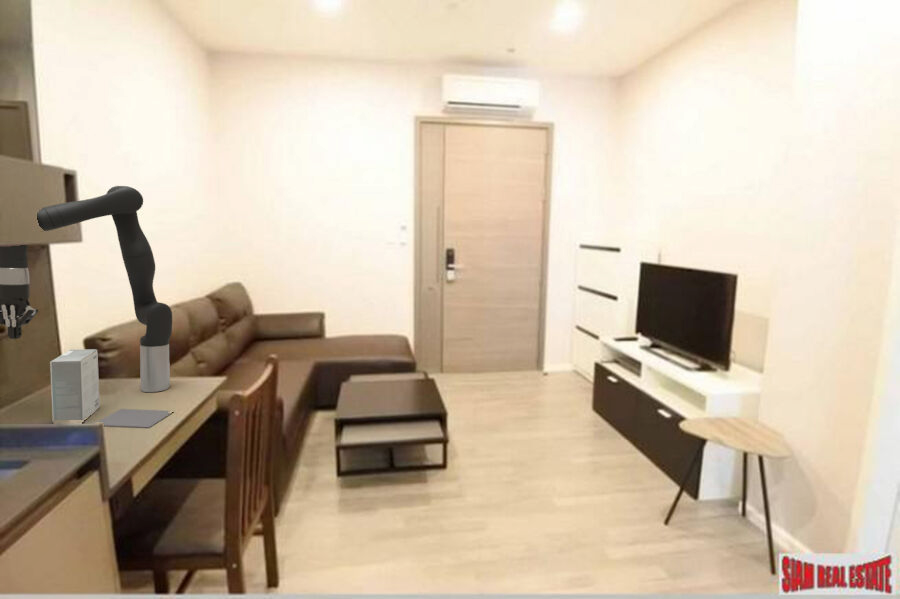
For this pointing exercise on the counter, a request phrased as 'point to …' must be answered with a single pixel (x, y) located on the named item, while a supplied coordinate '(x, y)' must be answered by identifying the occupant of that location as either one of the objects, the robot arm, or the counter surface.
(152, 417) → the rubber mat
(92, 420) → the counter surface
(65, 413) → the hard drive box
